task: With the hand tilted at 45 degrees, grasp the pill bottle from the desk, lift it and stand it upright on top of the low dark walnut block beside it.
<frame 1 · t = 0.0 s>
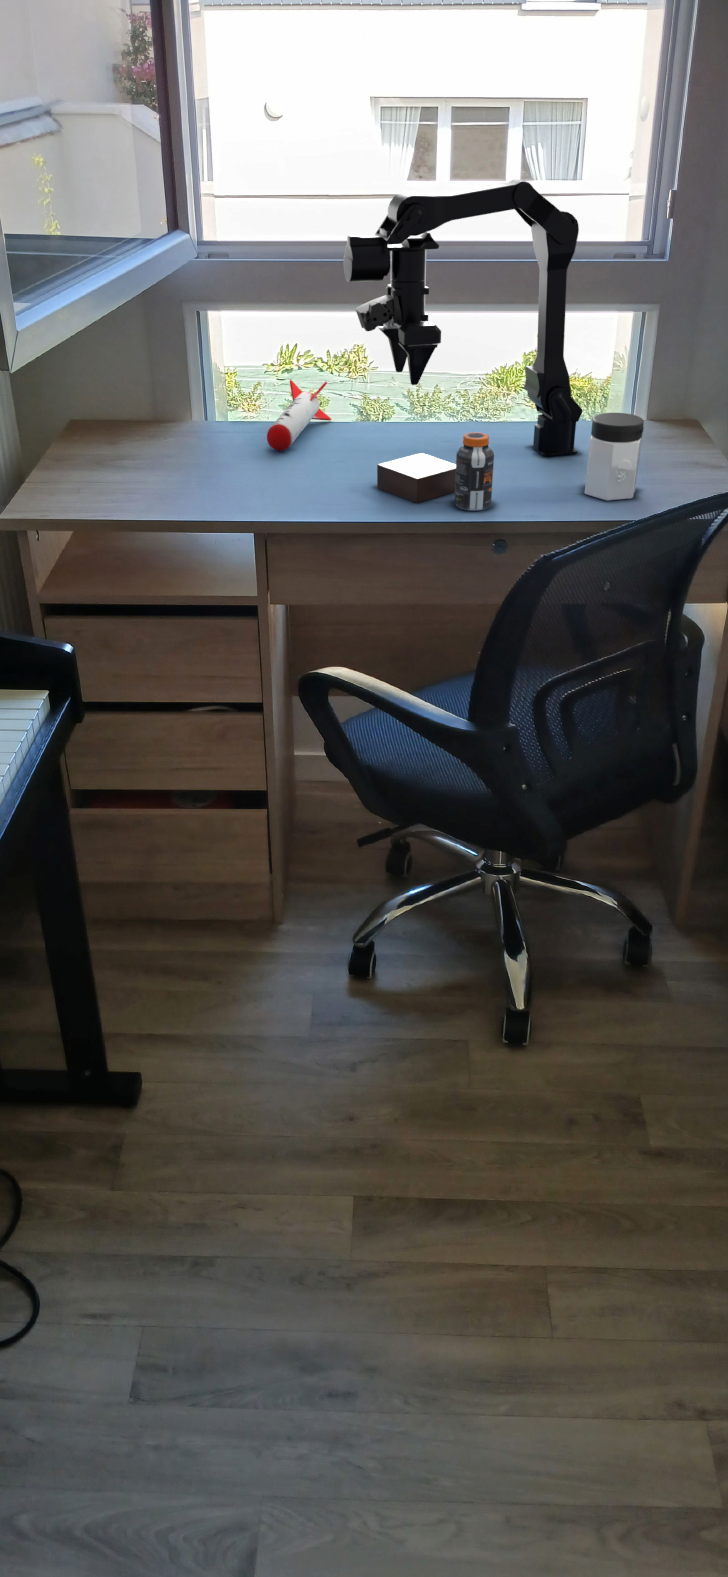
hand: (406, 377, 196), 15 cm above the table, tool pointing down, fingers open, 9 cm apart
pill bottle: (472, 506, 186), on the table
jar: (609, 493, 191), on the table
block: (419, 488, 193), on the table
model rocket: (295, 436, 219), on the table
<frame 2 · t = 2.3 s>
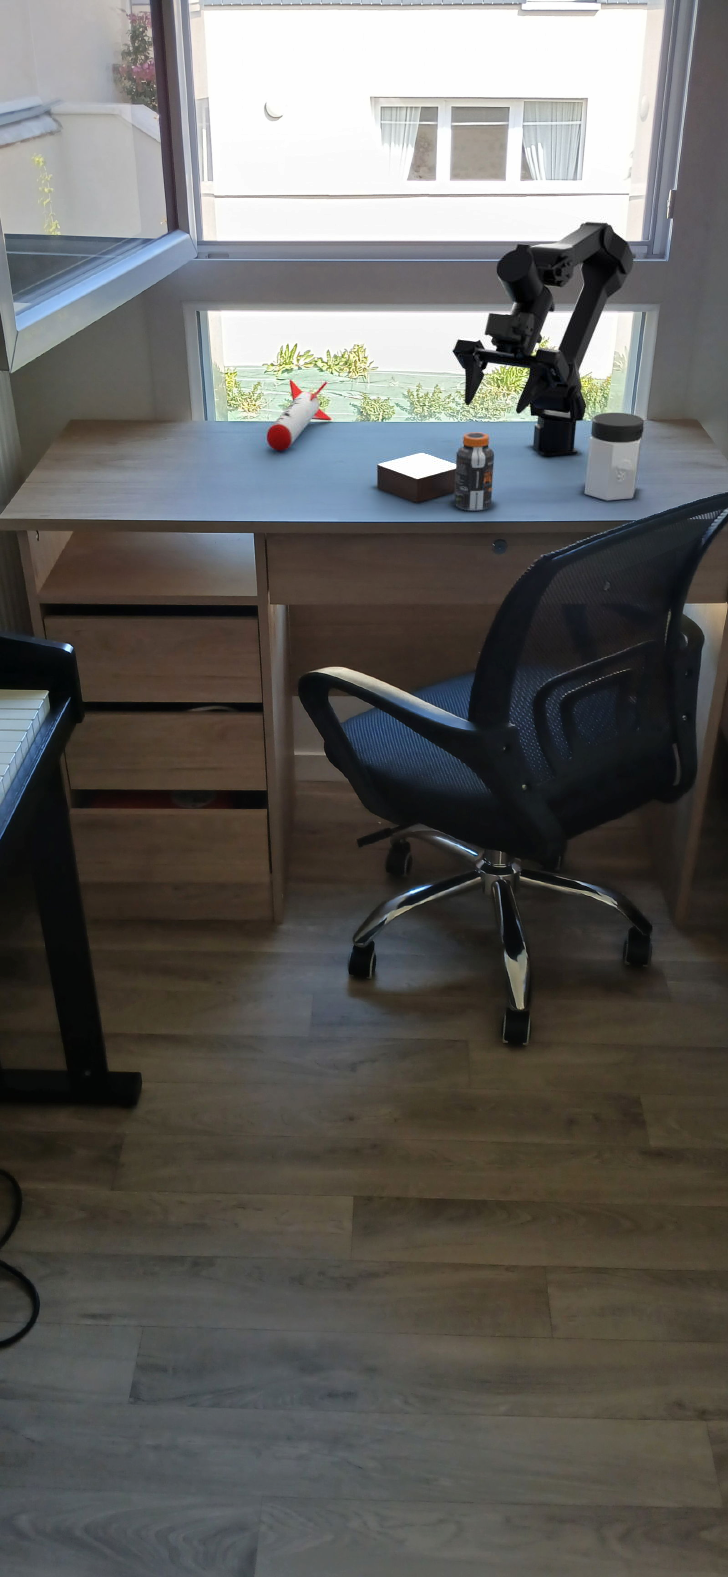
hand: (491, 407, 185), 13 cm above the table, tool tilted 40°, fingers open, 9 cm apart
nothing on the table moved.
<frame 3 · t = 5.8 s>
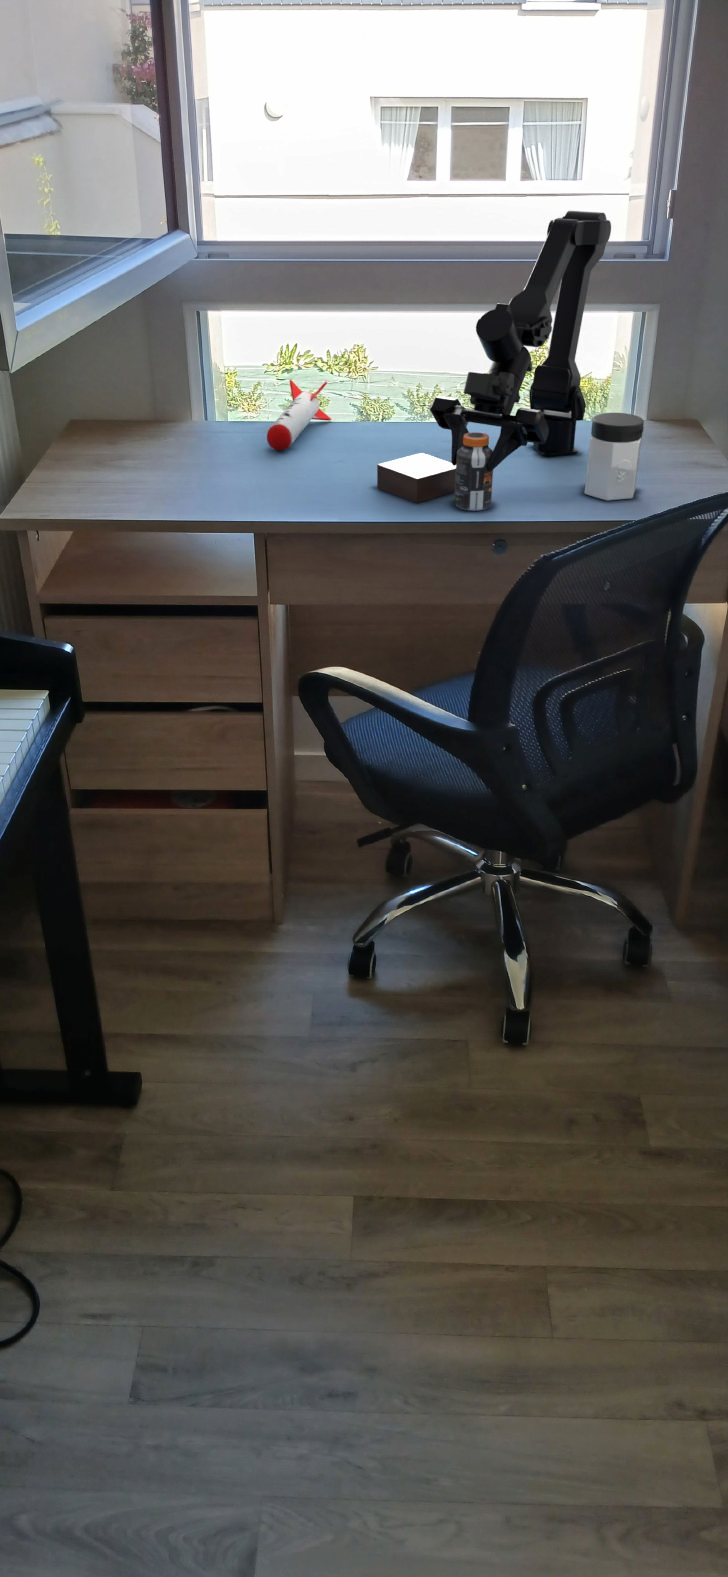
hand: (470, 466, 181), 7 cm above the table, tool tilted 45°, fingers closed on pill bottle, 6 cm apart
pill bottle: (472, 506, 186), on the table, touching gripper
everything else where it was.
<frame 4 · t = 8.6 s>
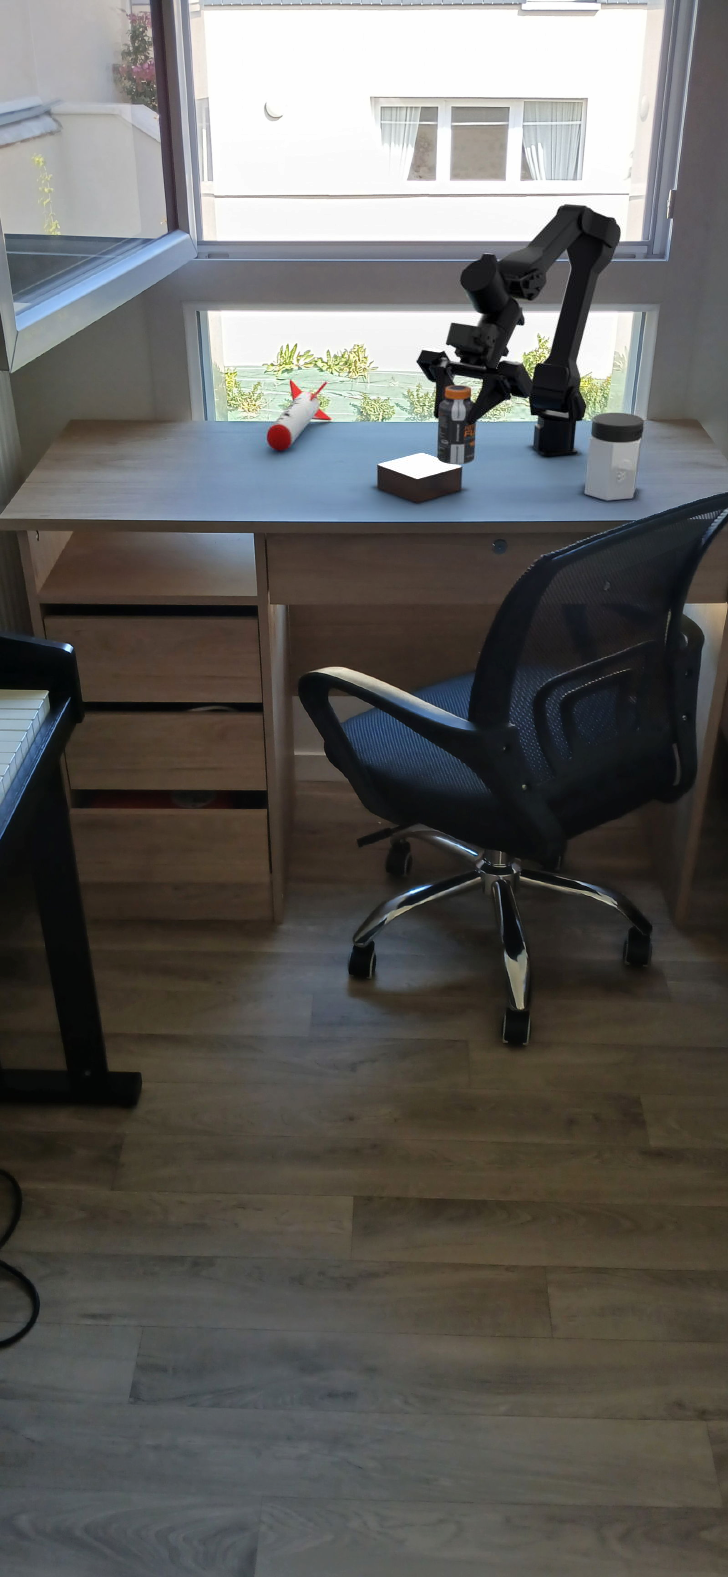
hand: (452, 419, 180), 13 cm above the table, tool tilted 45°, fingers closed on pill bottle, 6 cm apart
pill bottle: (455, 460, 184), point 6 cm above the table, touching gripper
everything else where it was.
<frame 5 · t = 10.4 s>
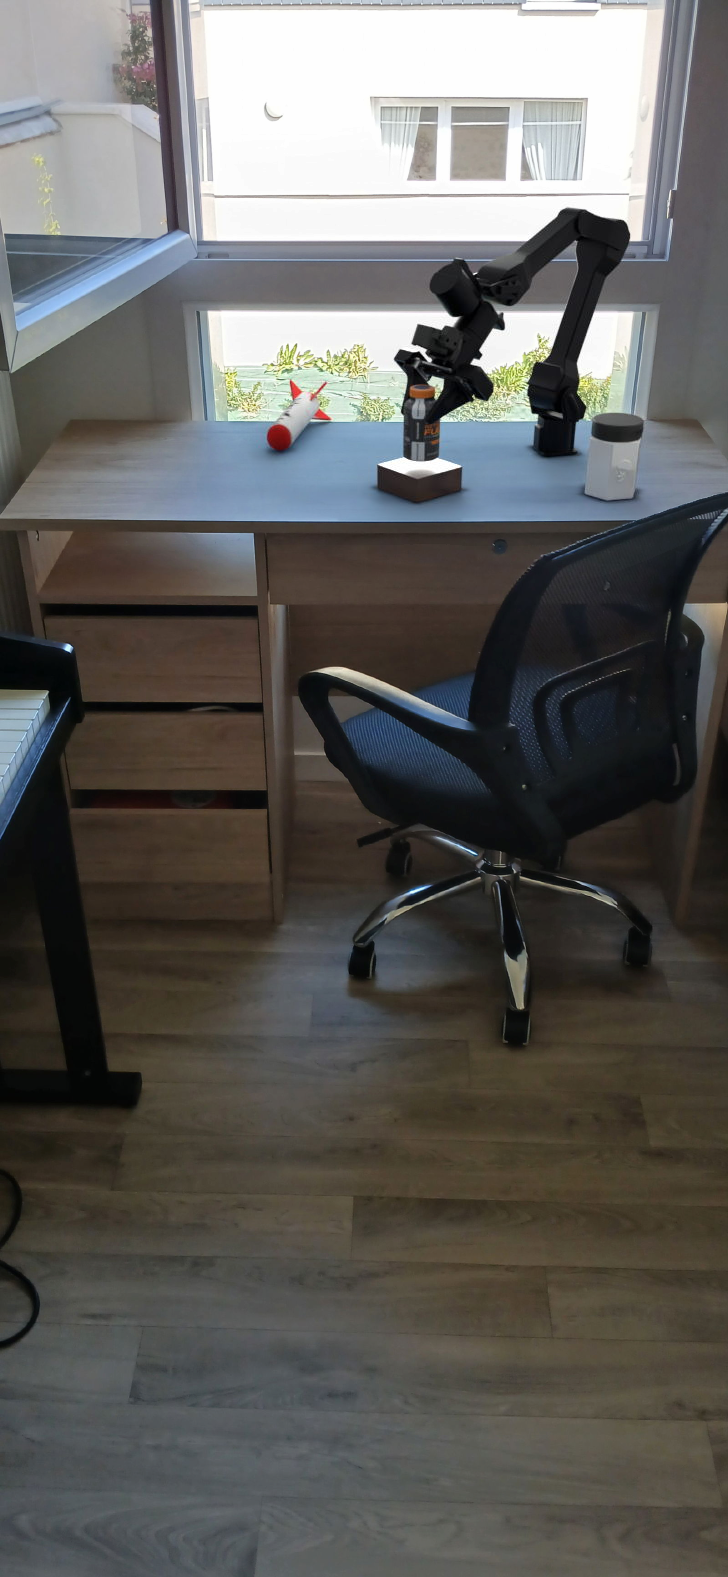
hand: (415, 418, 185), 12 cm above the table, tool tilted 45°, fingers closed on pill bottle, 6 cm apart
pill bottle: (421, 458, 190), point 5 cm above the table, touching gripper
everything else where it was.
when the fingers open (11 cm above the table, at t = 11.4 s): pill bottle stays where it is, resting on block.
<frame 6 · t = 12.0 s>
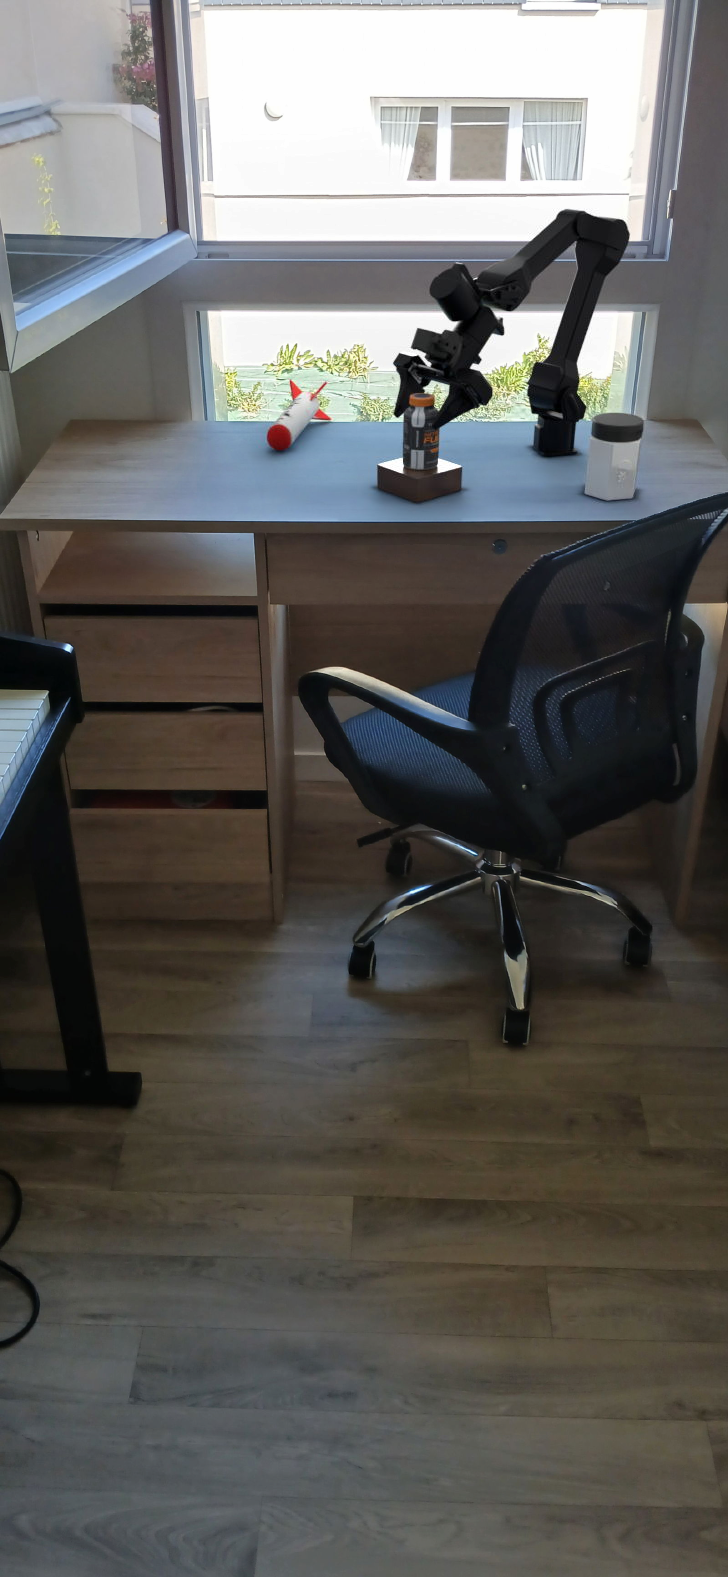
hand: (414, 421, 186), 11 cm above the table, tool tilted 45°, fingers open, 9 cm apart
pill bottle: (420, 466, 191), point 4 cm above the table, touching block
block: (419, 488, 193), on the table, touching pill bottle
everything else where it was.
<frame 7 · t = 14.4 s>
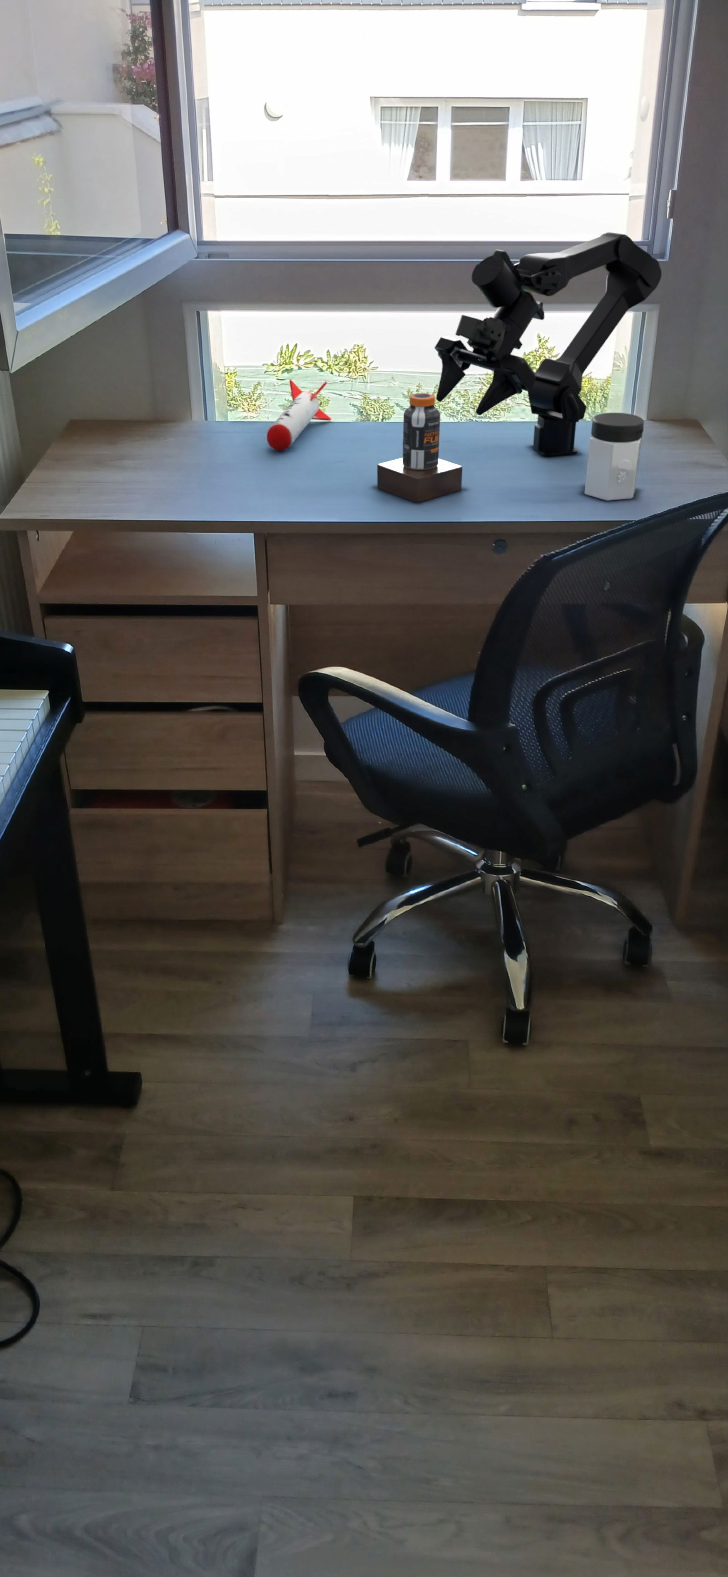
hand: (457, 406, 191), 12 cm above the table, tool tilted 45°, fingers open, 9 cm apart
nothing on the table moved.
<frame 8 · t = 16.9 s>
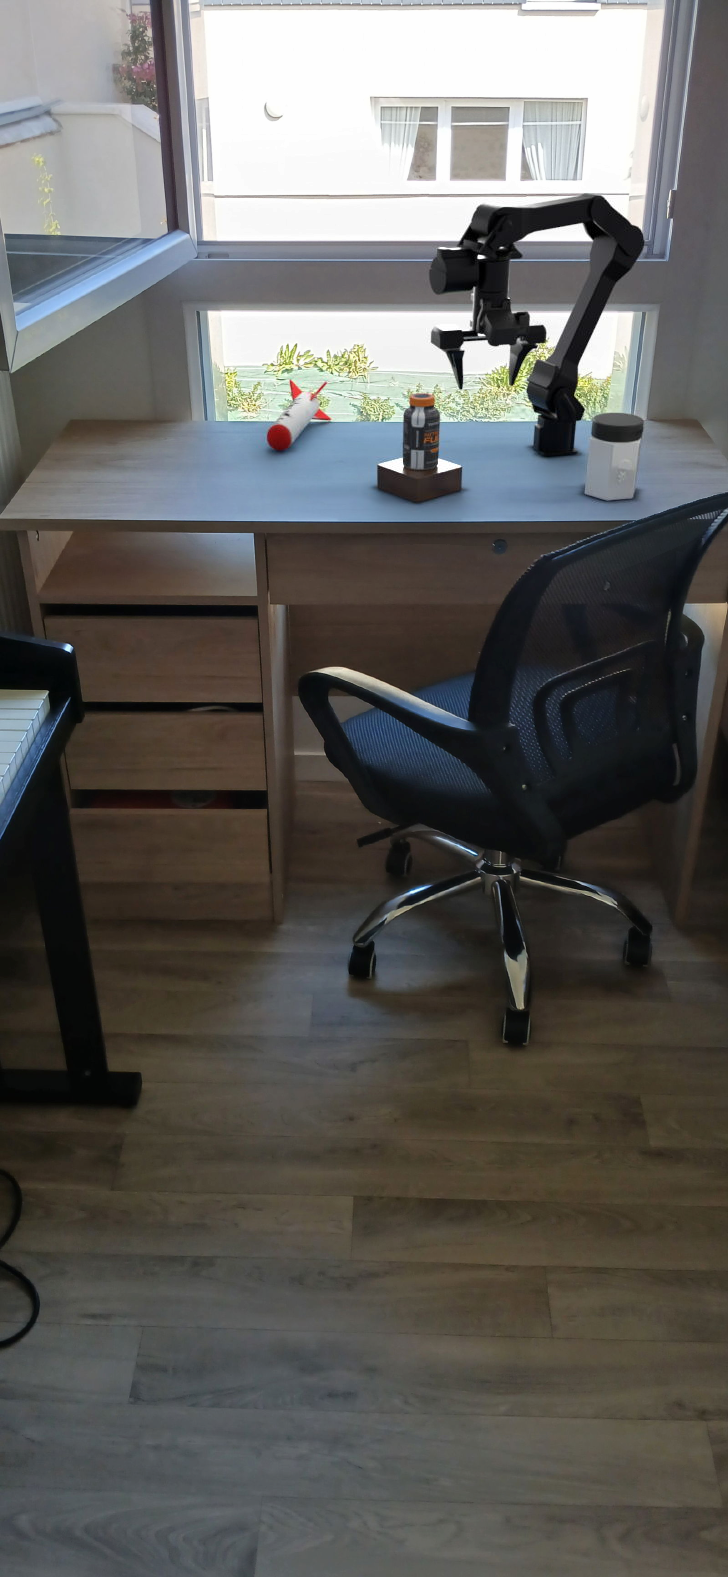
hand: (485, 386, 198), 13 cm above the table, tool pointing down, fingers open, 9 cm apart
nothing on the table moved.
at the end: pill bottle inside the target area on the block (0.1 cm from its centre), point 3.8 cm above the block's base; pill bottle tilted 0°; the gripper is holding nothing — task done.
